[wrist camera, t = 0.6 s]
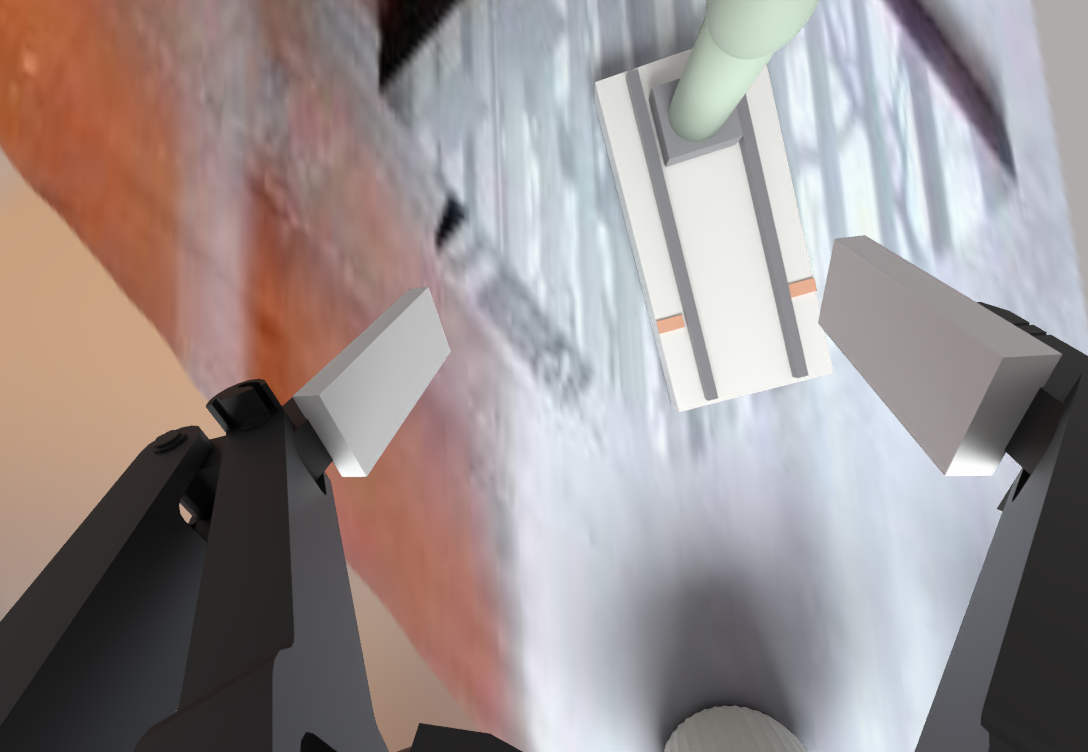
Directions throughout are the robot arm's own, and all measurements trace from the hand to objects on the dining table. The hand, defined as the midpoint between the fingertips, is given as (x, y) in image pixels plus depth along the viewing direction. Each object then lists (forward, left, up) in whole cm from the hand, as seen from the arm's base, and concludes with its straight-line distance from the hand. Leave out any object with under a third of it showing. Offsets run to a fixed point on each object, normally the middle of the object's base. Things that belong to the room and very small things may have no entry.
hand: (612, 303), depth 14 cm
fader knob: (-12, +11, -19) cm, 25 cm away
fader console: (-4, +11, -22) cm, 24 cm away
